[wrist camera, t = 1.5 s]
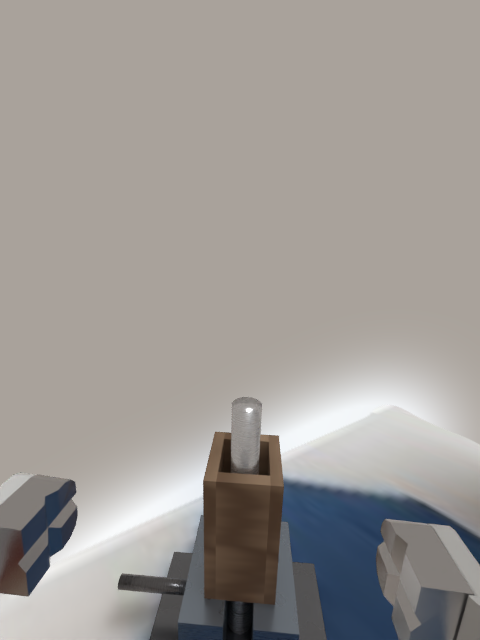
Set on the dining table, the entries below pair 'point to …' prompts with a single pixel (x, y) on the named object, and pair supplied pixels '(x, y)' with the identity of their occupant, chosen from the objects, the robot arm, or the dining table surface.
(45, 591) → the dining table surface
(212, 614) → the vise
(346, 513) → the dining table surface
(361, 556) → the dining table surface
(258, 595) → the walnut sleeve
